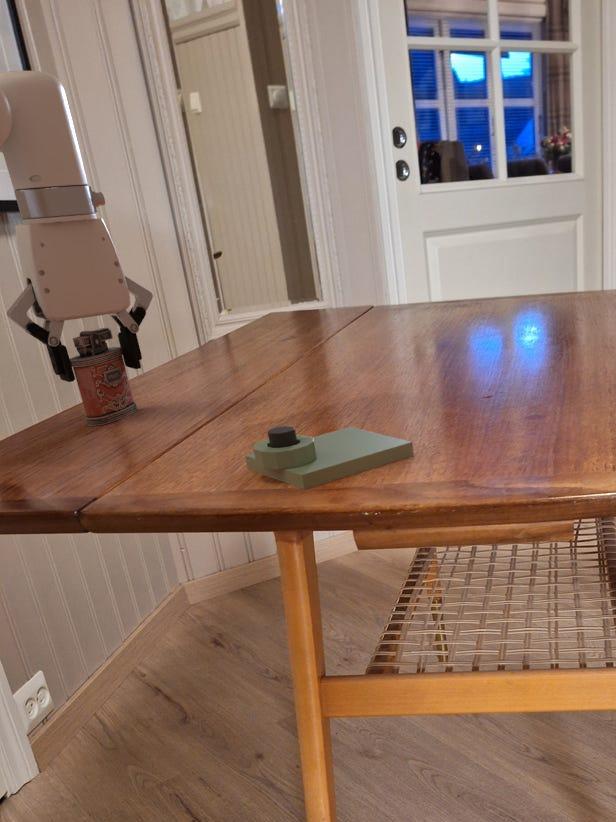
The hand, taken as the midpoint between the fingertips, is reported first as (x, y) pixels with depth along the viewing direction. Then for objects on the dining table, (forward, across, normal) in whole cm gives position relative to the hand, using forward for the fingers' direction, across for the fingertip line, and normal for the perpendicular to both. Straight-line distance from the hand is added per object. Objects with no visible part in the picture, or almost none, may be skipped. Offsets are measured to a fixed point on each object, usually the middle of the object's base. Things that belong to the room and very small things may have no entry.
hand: (101, 372), depth 103 cm
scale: (+5, -5, +40) cm, 41 cm away
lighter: (+5, 0, 0) cm, 5 cm away
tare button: (+3, 0, +40) cm, 40 cm away
